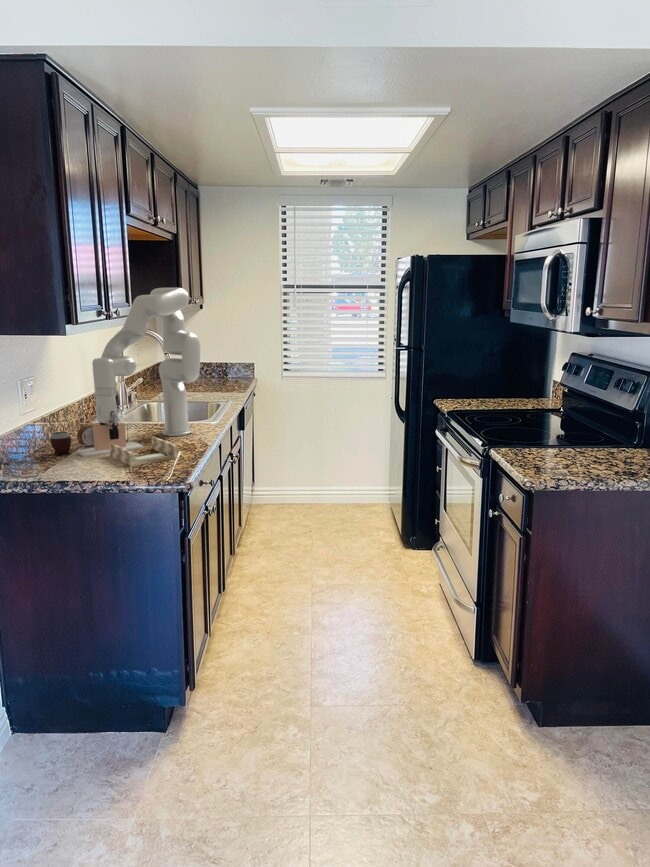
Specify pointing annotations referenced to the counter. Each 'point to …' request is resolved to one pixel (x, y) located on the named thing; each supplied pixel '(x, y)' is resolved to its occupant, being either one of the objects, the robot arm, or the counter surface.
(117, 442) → the sheet
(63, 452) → the mate gourd
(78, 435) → the tin
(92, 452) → the mat
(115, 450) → the rack
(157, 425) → the counter surface
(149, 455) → the offcut upper
